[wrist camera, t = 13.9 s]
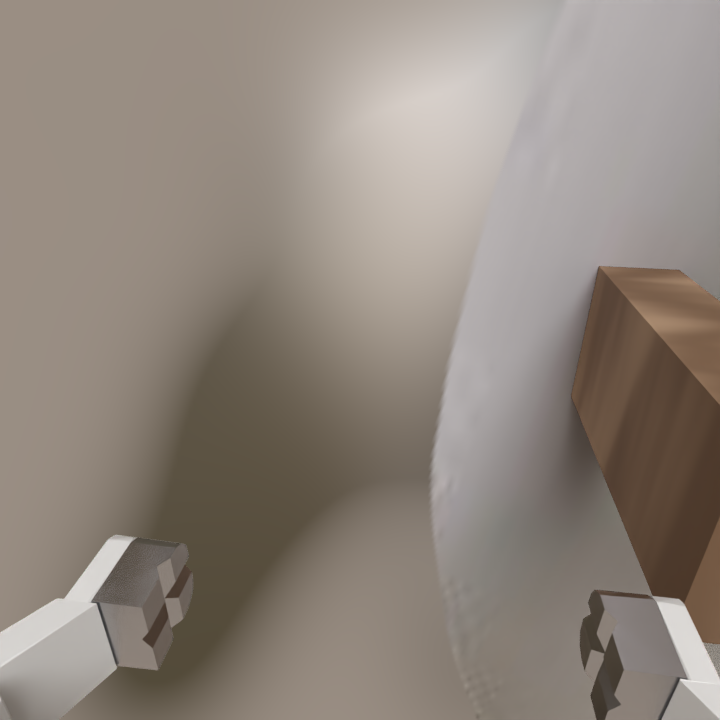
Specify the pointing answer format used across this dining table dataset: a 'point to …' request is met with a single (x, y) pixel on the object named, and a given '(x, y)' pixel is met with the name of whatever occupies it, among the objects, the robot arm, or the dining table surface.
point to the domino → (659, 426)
